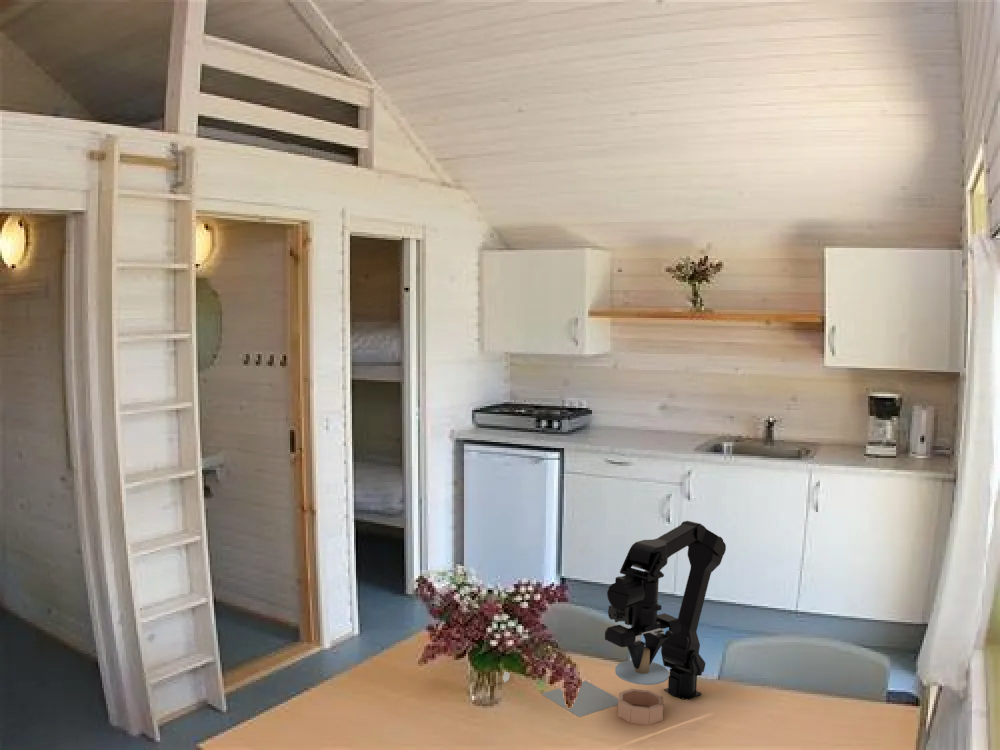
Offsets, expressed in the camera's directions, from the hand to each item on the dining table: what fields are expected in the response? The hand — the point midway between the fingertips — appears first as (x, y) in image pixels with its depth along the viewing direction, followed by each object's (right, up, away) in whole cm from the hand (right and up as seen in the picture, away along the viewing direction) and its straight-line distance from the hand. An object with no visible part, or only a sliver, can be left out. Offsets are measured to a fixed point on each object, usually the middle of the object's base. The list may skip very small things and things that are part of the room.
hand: (642, 666), depth 199 cm
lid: (0, -2, 0) cm, 2 cm away
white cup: (-33, -9, +18) cm, 39 cm away
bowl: (0, -12, +1) cm, 12 cm away
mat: (-13, -11, +8) cm, 18 cm away
